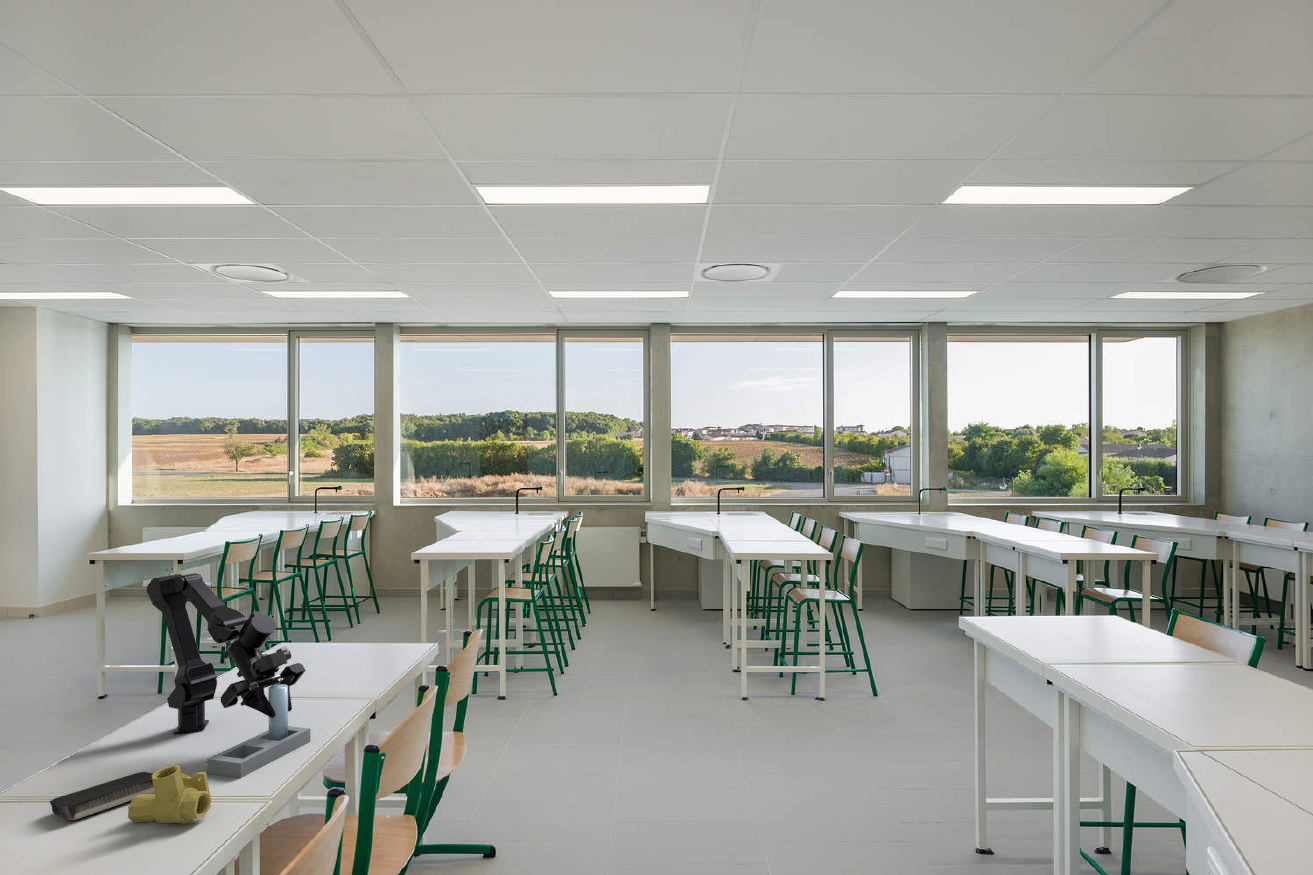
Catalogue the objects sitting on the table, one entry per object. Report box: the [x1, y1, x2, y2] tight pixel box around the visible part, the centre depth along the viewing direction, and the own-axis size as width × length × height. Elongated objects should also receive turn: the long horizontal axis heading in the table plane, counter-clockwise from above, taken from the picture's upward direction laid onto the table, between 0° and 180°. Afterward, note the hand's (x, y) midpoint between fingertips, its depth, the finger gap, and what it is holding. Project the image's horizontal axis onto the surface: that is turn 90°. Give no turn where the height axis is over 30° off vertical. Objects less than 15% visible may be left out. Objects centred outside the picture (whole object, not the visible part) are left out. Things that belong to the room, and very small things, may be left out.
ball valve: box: [127, 764, 212, 825], centre depth 140 cm, size 13×10×10 cm
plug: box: [268, 684, 289, 741], centre depth 172 cm, size 4×4×12 cm
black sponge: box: [49, 771, 155, 821], centre depth 146 cm, size 16×8×4 cm, turn 145°
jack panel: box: [206, 725, 311, 779], centre depth 167 cm, size 20×9×3 cm, turn 163°
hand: (282, 713), depth 172 cm, fingers closed on plug, 4 cm apart
